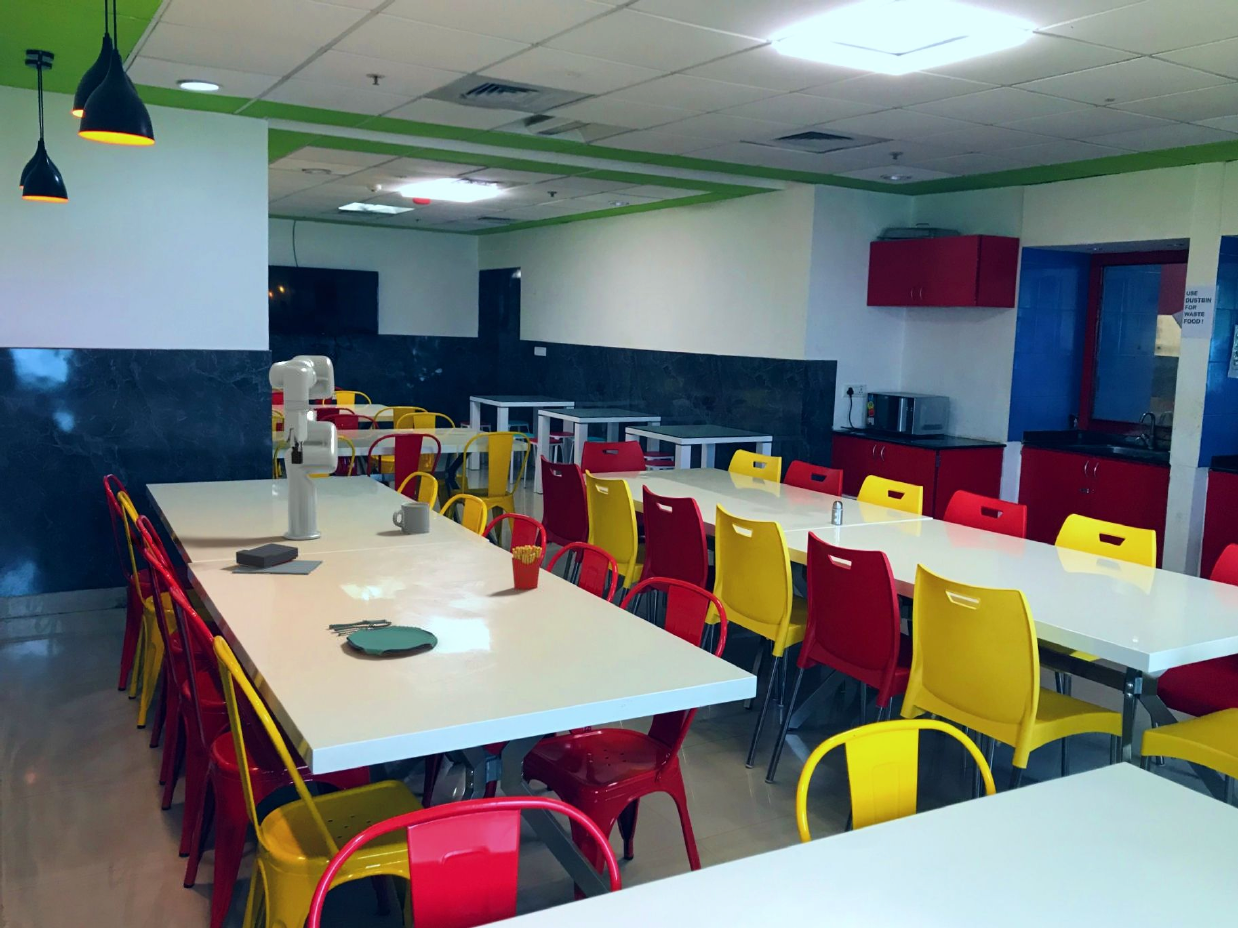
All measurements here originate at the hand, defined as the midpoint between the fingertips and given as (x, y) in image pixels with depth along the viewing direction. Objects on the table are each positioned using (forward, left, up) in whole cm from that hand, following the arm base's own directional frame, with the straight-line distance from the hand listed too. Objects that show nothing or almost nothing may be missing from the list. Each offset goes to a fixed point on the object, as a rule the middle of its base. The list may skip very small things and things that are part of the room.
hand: (297, 463), depth 322 cm
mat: (+21, 0, -29) cm, 36 cm away
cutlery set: (+90, +46, -30) cm, 105 cm away
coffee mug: (-39, +29, -29) cm, 57 cm away
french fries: (+39, +76, -29) cm, 90 cm away
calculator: (+10, -1, -26) cm, 28 cm away
